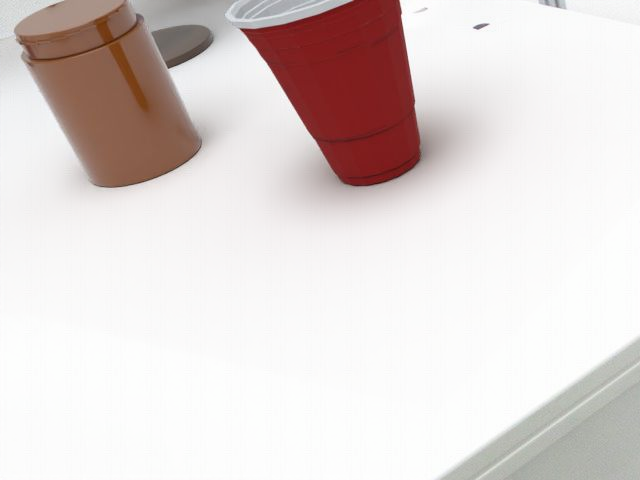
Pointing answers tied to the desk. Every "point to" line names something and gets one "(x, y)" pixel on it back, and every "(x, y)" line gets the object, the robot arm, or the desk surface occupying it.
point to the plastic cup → (342, 78)
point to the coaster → (181, 42)
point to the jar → (108, 89)
